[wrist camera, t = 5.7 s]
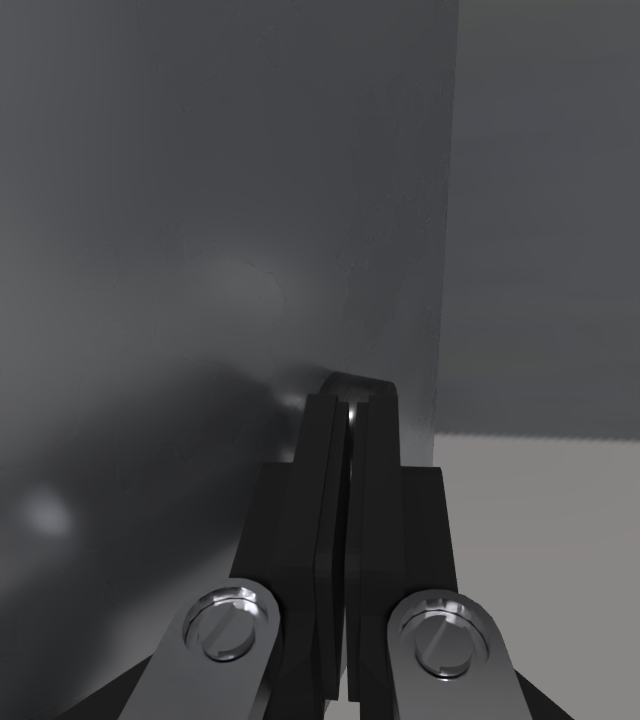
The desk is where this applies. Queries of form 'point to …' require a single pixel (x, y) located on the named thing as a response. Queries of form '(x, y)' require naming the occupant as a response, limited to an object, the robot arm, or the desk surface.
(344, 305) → the lid
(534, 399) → the desk surface
